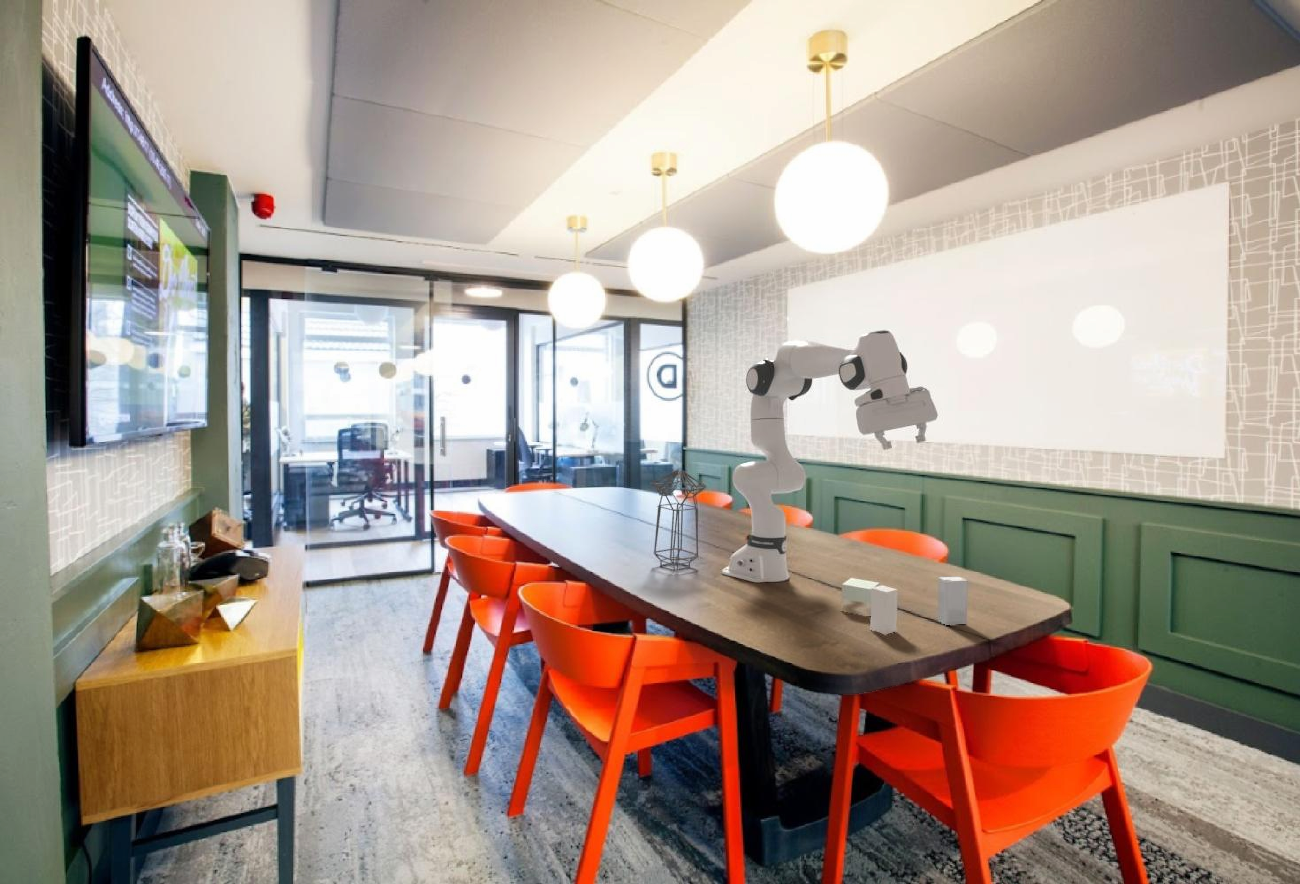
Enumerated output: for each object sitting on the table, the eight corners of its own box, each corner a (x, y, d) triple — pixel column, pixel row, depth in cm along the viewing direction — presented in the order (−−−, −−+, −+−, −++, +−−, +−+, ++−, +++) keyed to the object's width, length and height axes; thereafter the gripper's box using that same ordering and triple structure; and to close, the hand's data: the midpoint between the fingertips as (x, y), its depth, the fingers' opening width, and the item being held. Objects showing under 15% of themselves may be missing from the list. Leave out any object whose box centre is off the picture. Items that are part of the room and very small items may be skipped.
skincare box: (957, 620, 168) (959, 575, 168) (967, 626, 164) (969, 580, 163) (935, 620, 168) (937, 576, 167) (945, 626, 163) (946, 580, 162)
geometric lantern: (676, 559, 233) (680, 466, 231) (706, 569, 221) (710, 471, 219) (644, 565, 223) (647, 468, 221) (673, 576, 211) (677, 473, 209)
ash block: (840, 612, 175) (841, 598, 175) (850, 605, 181) (850, 591, 181) (870, 618, 170) (870, 603, 170) (878, 610, 177) (878, 596, 176)
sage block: (841, 598, 175) (841, 584, 174) (850, 591, 181) (851, 577, 181) (870, 603, 170) (871, 589, 170) (878, 596, 176) (879, 582, 176)
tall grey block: (885, 635, 156) (886, 592, 156) (870, 630, 160) (871, 588, 159) (896, 632, 159) (897, 589, 158) (881, 627, 162) (882, 585, 162)
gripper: (919, 388, 162) (934, 440, 160) (848, 401, 158) (862, 454, 156) (934, 382, 156) (949, 435, 154) (860, 395, 152) (874, 451, 150)
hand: (904, 445), depth 155 cm, fingers open, 8 cm apart
